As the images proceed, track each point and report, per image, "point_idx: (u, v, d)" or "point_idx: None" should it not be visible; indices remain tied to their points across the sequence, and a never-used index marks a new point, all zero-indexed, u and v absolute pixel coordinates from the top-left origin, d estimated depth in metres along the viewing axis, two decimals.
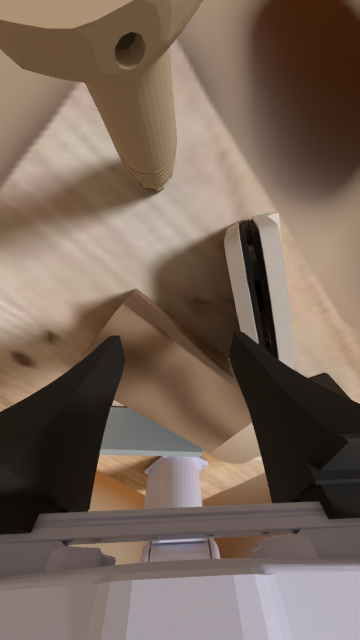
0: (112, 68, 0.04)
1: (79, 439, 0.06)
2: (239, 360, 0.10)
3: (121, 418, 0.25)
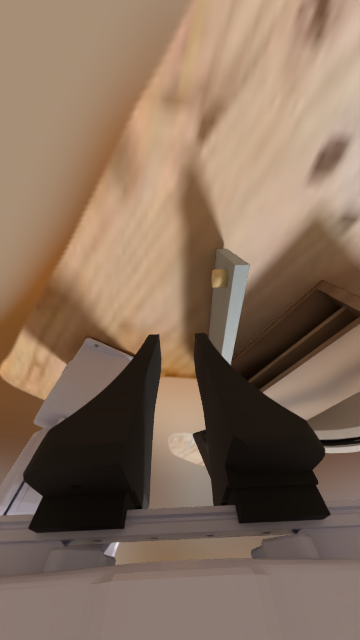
0: None
1: (144, 437, 0.07)
2: (197, 361, 0.10)
3: None
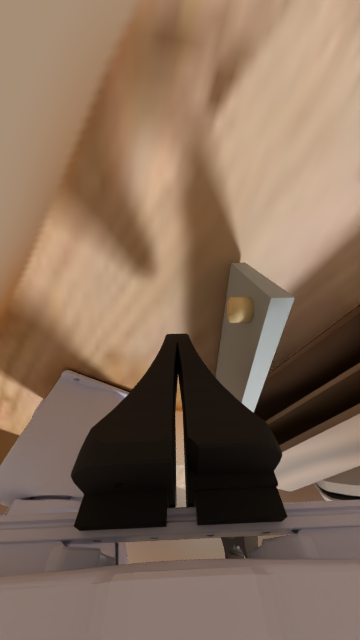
0: None
1: (174, 436, 0.07)
2: (178, 362, 0.10)
3: None
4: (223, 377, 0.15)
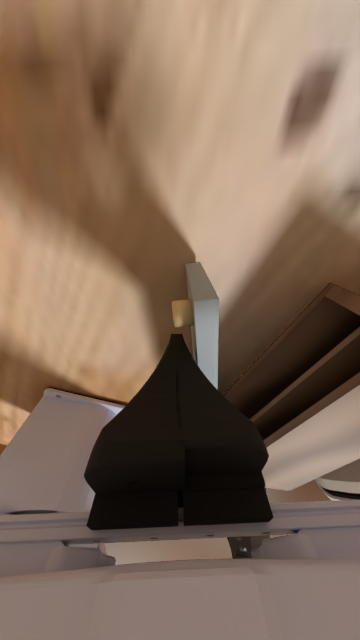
0: None
1: None
2: None
3: None
4: None
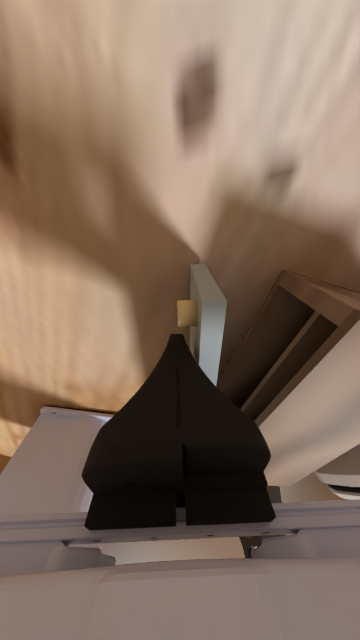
0: None
1: None
2: None
3: None
4: None
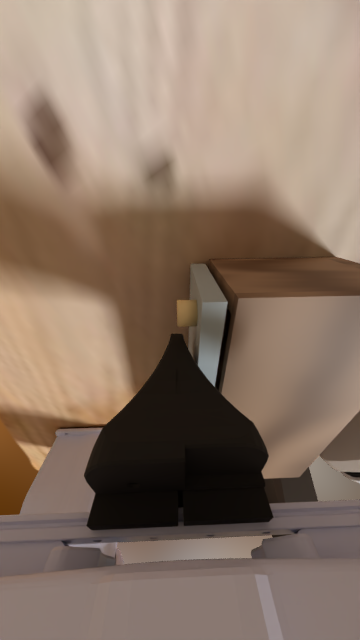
0: None
1: None
2: None
3: None
4: None
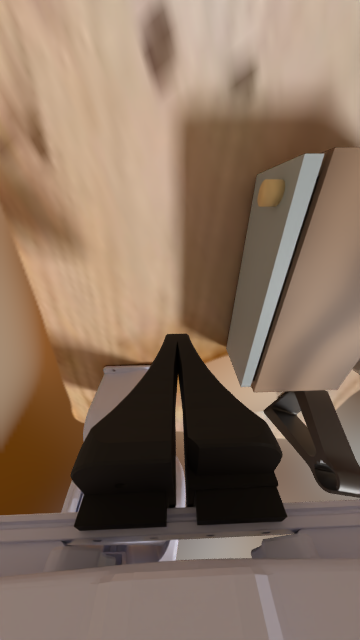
0: None
1: (174, 436, 0.07)
2: (178, 362, 0.10)
3: None
4: (244, 294, 0.17)
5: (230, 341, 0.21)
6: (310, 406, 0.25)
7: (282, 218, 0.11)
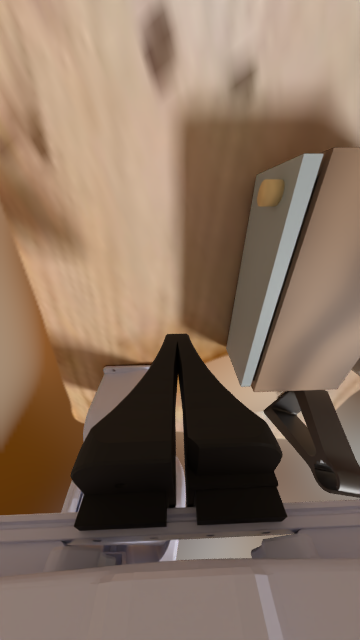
0: None
1: (174, 436, 0.07)
2: (178, 362, 0.10)
3: None
4: (244, 293, 0.17)
5: (230, 341, 0.22)
6: (310, 406, 0.25)
7: (282, 218, 0.11)
